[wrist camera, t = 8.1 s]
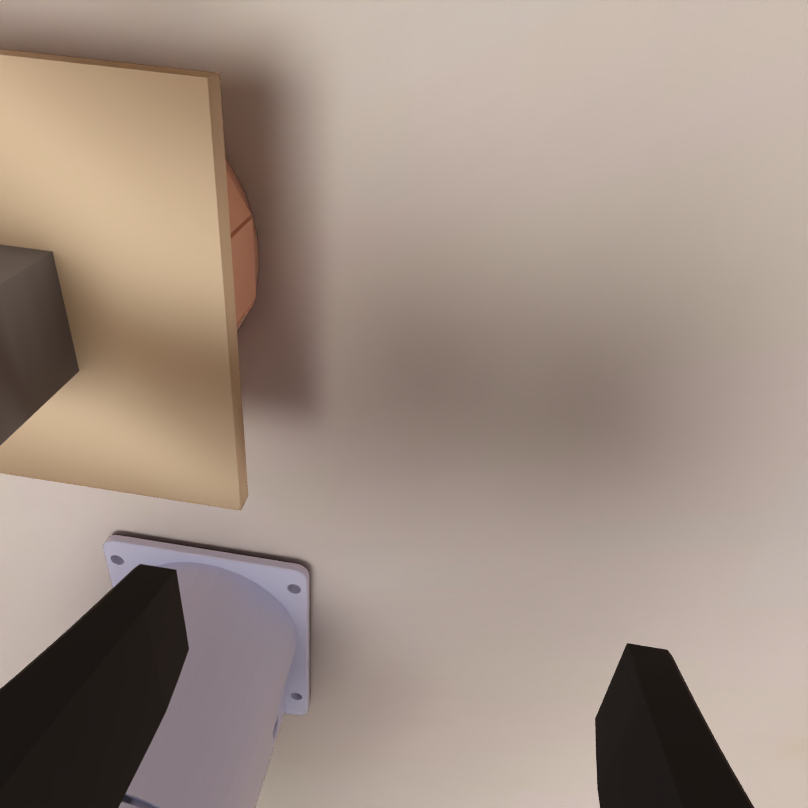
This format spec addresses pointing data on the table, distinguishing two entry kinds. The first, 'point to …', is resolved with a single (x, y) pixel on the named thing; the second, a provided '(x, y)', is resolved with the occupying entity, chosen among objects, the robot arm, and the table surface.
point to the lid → (117, 281)
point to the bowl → (242, 246)
